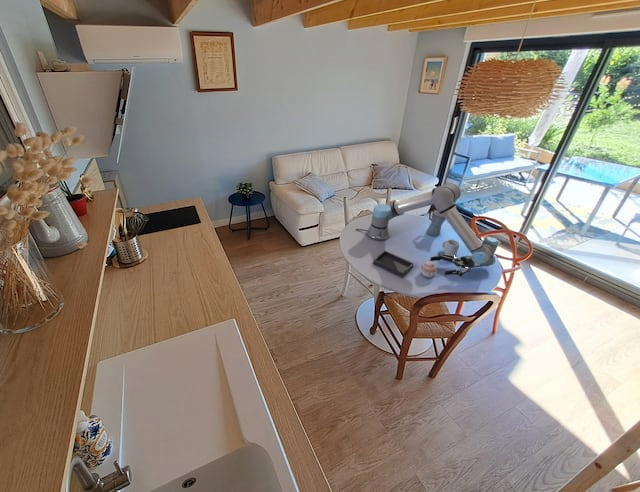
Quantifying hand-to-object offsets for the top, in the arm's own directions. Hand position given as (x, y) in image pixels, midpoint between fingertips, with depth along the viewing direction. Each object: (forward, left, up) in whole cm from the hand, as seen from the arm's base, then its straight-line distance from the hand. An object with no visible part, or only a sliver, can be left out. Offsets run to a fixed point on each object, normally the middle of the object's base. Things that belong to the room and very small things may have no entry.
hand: (437, 265), depth 171 cm
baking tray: (-22, -11, -6) cm, 25 cm away
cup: (-2, +28, -6) cm, 29 cm away
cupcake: (-3, -5, -6) cm, 8 cm away
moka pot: (-19, +47, -6) cm, 52 cm away
